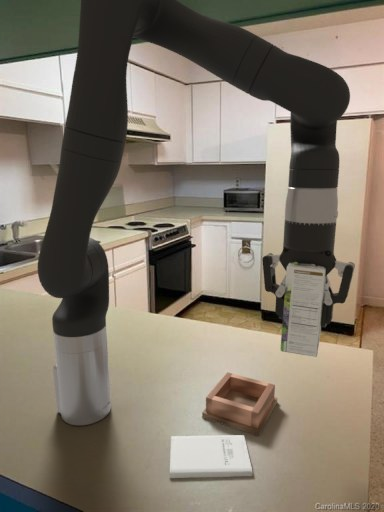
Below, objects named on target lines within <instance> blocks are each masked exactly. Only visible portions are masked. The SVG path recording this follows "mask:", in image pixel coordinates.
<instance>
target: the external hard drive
mask: <svg viewBox="0 0 384 512" xmlns="http://www.w3.org/2000/svg"><path fill="white" fill-rule="evenodd" d="M247 446H248V445H247V442H246V437H245V435H244V434H242V435H241V434H240V435H239V434H238V435H236V434H235V435H233V434H231V435H230V434H228V435H177V436H176V435H172V436H170V453H169V479H181V478H182V479H184V478H186V479H187V478H188V479H189V478H220V477H221V478H224V477H228V478H229V477H230V478H231V477H252V476H253V468H252V464H251V463H252V462H251V460H250V459H251V458H250V456H249V455H250V454H249V450H248V447H247Z"/></svg>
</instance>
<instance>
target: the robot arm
mask: <svg viewBox="0 0 384 512" xmlns="http://www.w3.org/2000/svg"><path fill="white" fill-rule="evenodd" d="M79 13H80V14H79V24H78V25H79V28H78V42H77V52H76V53H77V54H76V60H75V64H74V65H75V66H74V72H73V77H72V82H71V83H72V84H71V88H70V96H69V102H68V108H67V113H66V119H65V122H64V123H65V124H64V130H63V135H62V142H61V148H60V156H59V157H60V158H59V163H58V164H59V165H58V171H57V175H56V177H57V178H56V183H55V187H54V192H53V199H52V205H51V211H50V215H49V219H48V223H47V226H46V229H45V233H44V236H43V240H42V243H41V245H40V251H39V253H38V258H37V259H38V260H37V275H38V280H39V282H40V285H41V287H42V288H43V290H44V291H45V293H47V294H48V295H49V296H51V297H53V298H57V299H61V301H60V303H59V305H58V306H57V308H56V310H55V311H54V312H53V314H52V319H51V321H52V323H51V324H52V332H53V342H54V351H55V352H54V353H55V363H56V364H54V365H53V367H52V371H53V381H54V390H55V391H54V392H55V401H56V412H57V413H59V414H60V415H61V419H62V420H63V421H64V422H65V423H67V424H69V425H72V426H88V425H92V424H95V423H97V422H100V421H102V420H103V419H104V418H105V417H107V415H109V413H110V412H111V408H112V404H111V403H112V402H111V401H112V399H111V384H110V369H109V368H110V366H109V365H110V364H109V349H108V336H107V335H108V334H107V320H106V319H107V313H108V310H109V308H110V307H109V306H110V271H109V262H108V258H107V254H106V251H105V249H104V247H103V246H102V245H101V244H100V243H99V241H97V240H96V239H94V238H92V237H90V236H91V232H92V228H93V225H94V222H95V219H96V217H97V214H98V212H99V211H100V209H101V206H102V205H103V203H104V202H105V200H106V198H107V197H108V195H109V193H110V192H111V189H112V188H113V185H114V183H115V181H116V180H117V177H118V175H119V172H120V169H121V166H122V160H123V156H124V151H125V146H126V142H127V135H128V128H129V127H128V124H129V123H128V122H129V121H128V119H129V118H128V117H129V116H128V115H129V113H128V111H129V110H128V93H127V92H128V88H127V85H128V84H127V76H128V75H127V71H128V63H129V56H130V54H131V53H130V51H131V48H132V43H133V39H134V38H135V39H138V40H142V41H143V42H147V43H150V44H152V45H156V46H159V47H161V48H164V49H166V50H169V51H171V52H173V53H175V54H177V55H178V56H181V57H183V58H185V59H187V60H189V61H191V62H192V63H194V64H195V65H198V66H199V67H201V68H203V69H204V70H205V71H207V72H209V73H210V74H212V75H214V76H215V77H217V78H219V79H221V80H222V81H224V82H226V83H228V84H229V85H231V86H233V87H234V88H237V89H238V90H240V91H242V92H244V93H245V94H248V95H249V96H251V97H253V98H255V99H258V100H260V101H265V102H266V101H267V102H272V103H274V104H275V105H276V106H279V107H281V108H282V109H285V110H286V111H289V112H290V118H289V119H290V122H289V124H290V146H291V147H290V148H291V151H290V159H289V169H288V188H287V193H286V199H285V207H284V208H285V209H284V224H283V226H284V227H283V243H282V245H283V246H282V251H281V253H280V254H273V253H272V252H269V253H267V254H266V255H264V256H263V257H262V258H261V259H262V271H263V280H264V281H263V282H264V283H263V284H264V291H266V292H267V293H272V294H273V295H274V296H275V310H274V312H275V315H276V316H278V319H280V320H283V310H284V297H285V284H286V274H285V275H284V277H283V279H282V280H281V282H280V284H279V283H278V284H277V279H276V278H277V276H276V268H277V267H278V266H279V262H280V265H281V266H282V267H283V269H284V270H285V272H286V271H287V266H288V264H289V263H293V264H300V263H306V264H310V266H315V267H317V266H321V267H324V268H325V269H326V272H325V277H326V281H325V283H324V295H323V300H324V303H323V306H322V316H321V328H326V327H327V325H330V324H331V322H332V319H333V317H334V316H333V314H334V305H335V304H344V303H345V302H346V300H347V298H348V296H349V291H350V287H351V283H352V279H353V276H354V271H355V267H356V266H355V263H354V262H352V261H348V262H344V261H339V260H337V258H336V256H335V242H336V227H337V218H338V216H339V211H338V210H339V209H338V205H339V200H338V199H339V198H338V186H339V177H340V176H339V175H340V153H339V150H338V149H337V147H336V142H337V141H336V140H337V126H338V125H337V124H338V120H339V119H341V118H342V116H343V115H345V113H346V112H347V109H348V107H349V104H350V102H351V101H350V100H351V92H350V88H349V85H348V83H347V82H346V80H345V79H344V77H342V76H341V75H340V74H339V73H337V72H336V71H335V70H333V69H331V68H329V67H327V66H326V65H323V64H321V63H318V62H315V61H314V60H309V59H308V58H305V57H301V56H299V55H295V54H292V53H289V52H286V51H284V50H283V49H281V48H280V47H278V46H276V45H274V44H273V43H271V42H269V41H267V40H266V39H264V38H263V37H261V36H258V35H256V34H255V33H253V32H251V31H249V30H247V29H245V28H243V27H240V26H238V25H235V24H233V23H231V22H227V21H224V20H220V19H217V18H214V17H211V16H208V15H205V14H202V13H200V12H198V11H197V10H194V9H192V8H190V7H188V6H187V5H185V4H184V3H182V2H180V1H179V0H80V11H79ZM333 269H336V270H337V274H338V277H340V278H341V281H340V285H339V288H338V289H339V290H338V292H334V291H333V289H332V286H331V282H330V280H329V277H328V275H329V274H330V273H331V272H332V271H333Z"/></svg>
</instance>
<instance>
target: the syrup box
mask: <svg viewBox="0 0 384 512" xmlns="http://www.w3.org/2000/svg"><path fill="white" fill-rule="evenodd" d="M325 272H326V269H325V268H324V267H321V266H317V267H315V266H310V264H306V263H300V264H293V263H289V264H288V266H287V271H286V270H285V273H286V274H285V275H286V284H285V297H284V310H283V319H282V324H281V337H280V352H282V353H288V354H295V355H301V356H307V357H314V358H317V357H318V351H319V346H320V340H321V333H322V327H321V316H322V306H323V303H324V300H323V295H324V283H325V281H326V277H325Z"/></svg>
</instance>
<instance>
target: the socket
mask: <svg viewBox="0 0 384 512" xmlns="http://www.w3.org/2000/svg"><path fill="white" fill-rule="evenodd" d="M275 389H276V384H273V383H269V382H266V381H263V380H262V381H261V380H258V379H254V378H249V377H246V376H243V375H239V374H235V373H232V372H228V371H227V372H226V373H225V374H224V376H223V377H222V378H221V379H220V381H218V382H217V384H216V385H214V388H212V389H211V391H210V392H209V393H208V394H207V395H206V397H205V408H204V410H203V411H202V412H201V417H202V418H203V419H206V420H209V421H212V422H215V423H218V424H222V425H224V426H228V427H230V428H233V429H237V430H240V431H243V432H246V433H248V434H251V435H255V436H257V437H260V436H261V434H262V432H263V430H264V428H265V426H266V425H267V422H268V421H269V419H270V417H271V415H272V413H273V411H274V409H275V407H276V405H277V404H278V397H276V396H275Z"/></svg>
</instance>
